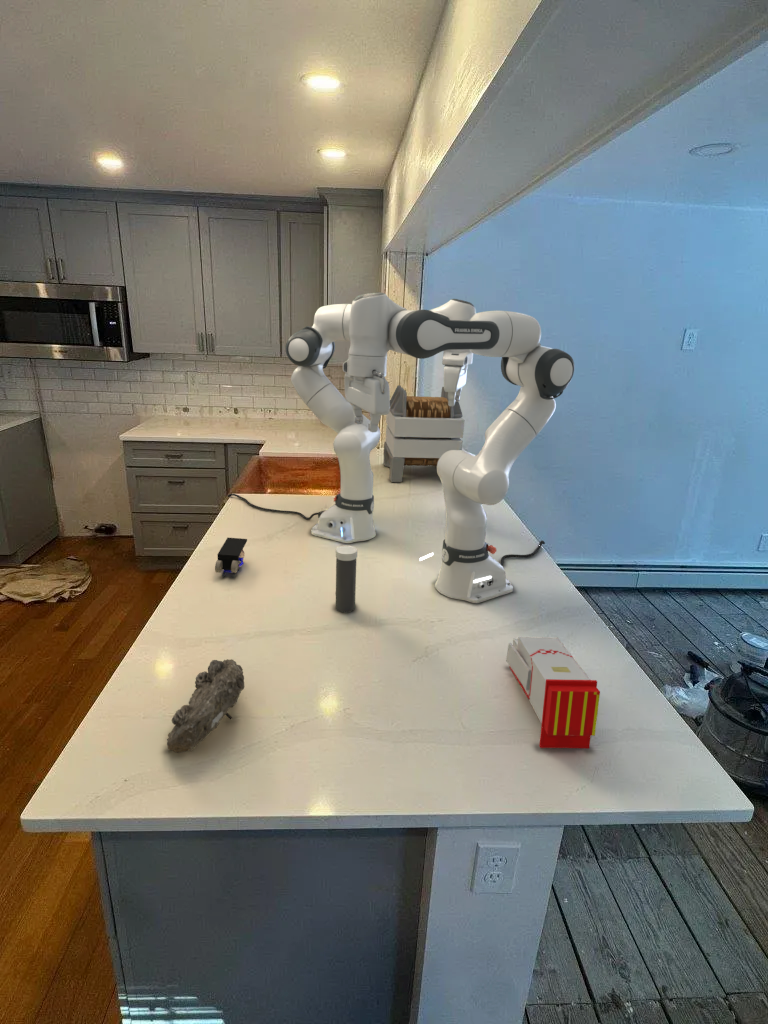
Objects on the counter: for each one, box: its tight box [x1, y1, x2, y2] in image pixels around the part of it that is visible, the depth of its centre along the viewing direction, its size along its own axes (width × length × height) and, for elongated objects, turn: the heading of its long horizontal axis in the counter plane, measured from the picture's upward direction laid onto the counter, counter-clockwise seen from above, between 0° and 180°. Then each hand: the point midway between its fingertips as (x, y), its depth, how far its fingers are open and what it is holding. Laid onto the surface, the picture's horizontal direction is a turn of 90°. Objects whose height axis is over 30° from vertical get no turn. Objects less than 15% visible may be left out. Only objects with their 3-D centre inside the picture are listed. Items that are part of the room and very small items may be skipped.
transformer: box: [383, 384, 465, 483], centre depth 268 cm, size 34×33×41 cm
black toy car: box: [214, 537, 248, 578], centre depth 166 cm, size 7×8×15 cm
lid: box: [335, 544, 358, 561], centre depth 144 cm, size 6×6×2 cm
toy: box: [505, 636, 601, 749], centre depth 115 cm, size 12×13×30 cm
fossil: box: [166, 658, 245, 754], centre depth 106 cm, size 22×10×15 cm
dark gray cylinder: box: [335, 557, 357, 613], centre depth 147 cm, size 5×5×16 cm
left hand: (454, 403), depth 174 cm, fingers open, 8 cm apart
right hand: (365, 427), depth 135 cm, fingers open, 8 cm apart
